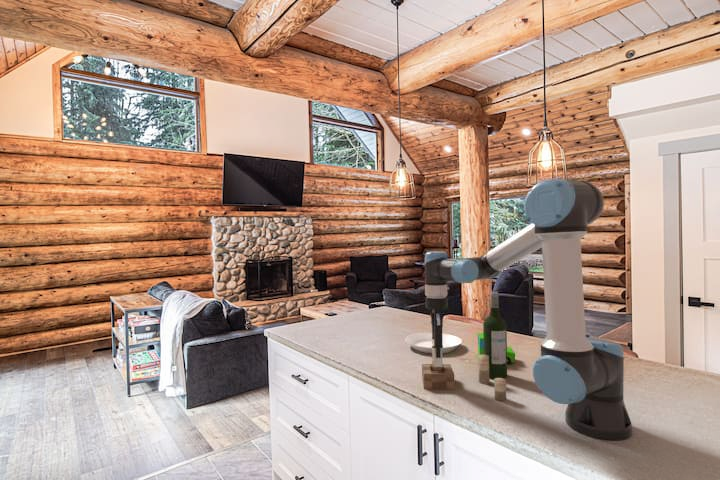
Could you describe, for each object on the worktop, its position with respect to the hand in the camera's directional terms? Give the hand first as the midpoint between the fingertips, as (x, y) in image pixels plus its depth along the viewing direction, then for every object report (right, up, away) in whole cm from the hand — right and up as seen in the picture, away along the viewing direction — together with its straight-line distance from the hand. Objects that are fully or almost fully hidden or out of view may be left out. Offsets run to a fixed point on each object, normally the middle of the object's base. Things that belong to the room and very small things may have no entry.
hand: (437, 364), depth 137 cm
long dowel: (0, -6, 0) cm, 6 cm away
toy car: (+28, -6, +22) cm, 36 cm away
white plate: (+6, -6, +43) cm, 44 cm away
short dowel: (+17, -7, -14) cm, 23 cm away
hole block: (0, -7, 0) cm, 7 cm away
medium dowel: (+16, -6, +1) cm, 17 cm away
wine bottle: (+22, -6, +6) cm, 24 cm away
